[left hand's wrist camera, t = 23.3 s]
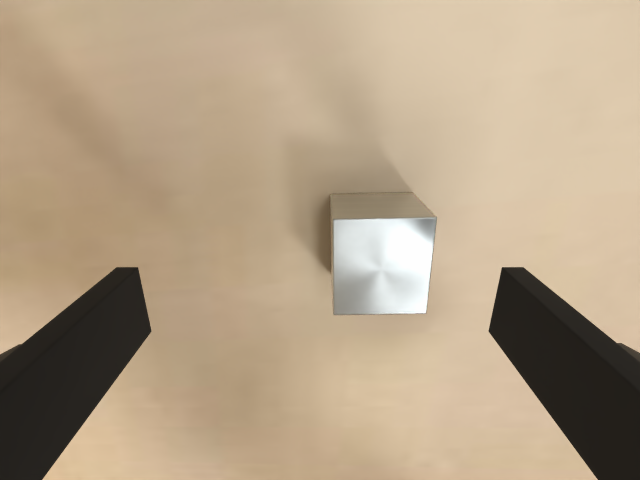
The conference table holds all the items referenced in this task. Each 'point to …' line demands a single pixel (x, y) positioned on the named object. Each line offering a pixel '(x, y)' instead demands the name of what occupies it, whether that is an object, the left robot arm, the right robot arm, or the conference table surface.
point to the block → (380, 253)
